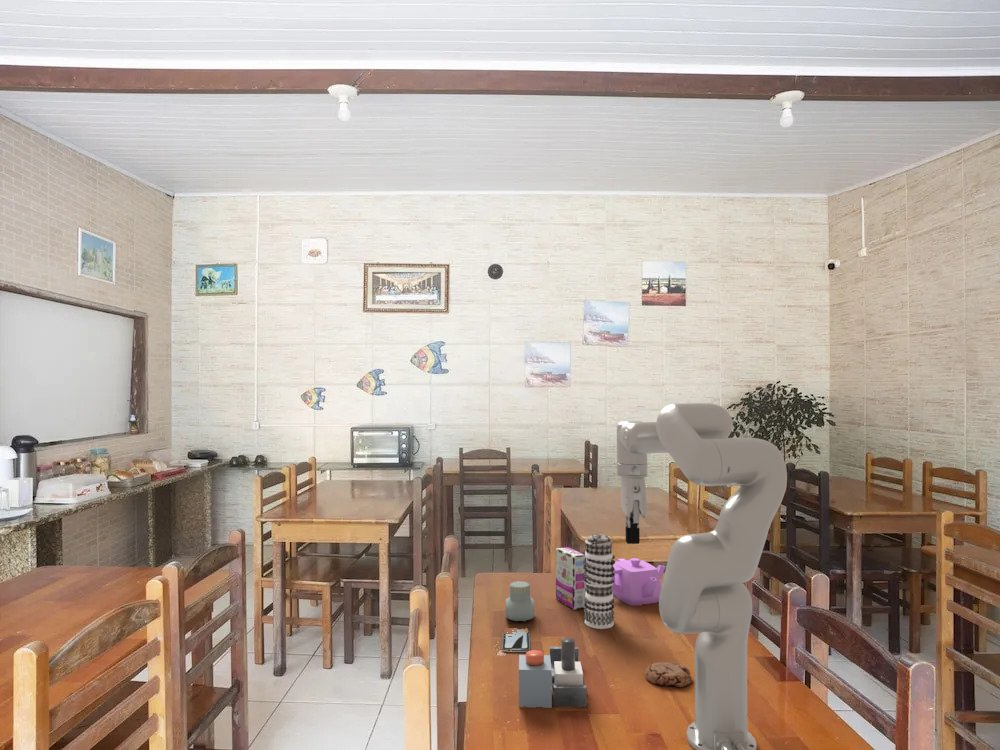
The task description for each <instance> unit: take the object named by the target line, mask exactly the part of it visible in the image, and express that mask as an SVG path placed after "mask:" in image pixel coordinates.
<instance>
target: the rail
mask: <svg viewBox="0 0 1000 750" xmlns="http://www.w3.org/2000/svg"><path fill="white" fill-rule="evenodd" d="M549 655H550V660H551V670H552V675H554V661H562V660H561V646H549ZM575 662H579V646H575ZM587 690H588V689H587V685H586V684H585V685H554V693H553V688H552V699H553V700H552V702H553V707H555V706H557V707H562V708H564V707H565V708H568V707H569V708H570V707H571V708H572V707H573V708H587V706H588V705H587V704H588V701H587V700H588V699H587V696H588V695H587V692H588V691H587Z"/></svg>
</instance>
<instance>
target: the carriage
mask: <svg viewBox="0 0 1000 750" xmlns="http://www.w3.org/2000/svg"><path fill="white" fill-rule="evenodd" d="M560 643H561V646H560V647H561V660H562V661H554V675H552V688H553V691H552V694H553V693H554V685H586V684H585V676H584V672H583V667H582V664H581V663H582V662H581V661H578V662H575V647H576V641H575V639H574V638H571V637H563V638H562V639H561V641H560Z"/></svg>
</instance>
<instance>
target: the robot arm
mask: <svg viewBox="0 0 1000 750" xmlns="http://www.w3.org/2000/svg"><path fill="white" fill-rule="evenodd" d="M733 422H734V421H733V418H732V416H731V414H730V412H728V411H727V409H726V408H724V407H723V406H721V405H718V404H714V403H708V402H702V403H700V402H699V403H698V402H697V403H696V402H695V403H671V404H669V405H666V406H665V407H663V408H662V409H661V411H660V412H659V413H658V415H657V418H656V421H642V420H641V421H640V420H621V421H620V422H618V423H617V425H616V476H617V477H620V507H621V511H622V513H624V515H625V542H626V544H628V545H635V544H636V545H637V544H640V538H641V537H640V516H642V517H643V518H647V517H648V510H647V509H648V507H647V506H648V505H647V489H646V480H645V478H647V477H648V454H669V456H670V457H671V459H672V460H673V461H674V463H675V465H677V467H678V468H679V470H680V471H681V472H682V473H683V475H684V476H685V477H686V479H687V480H688V481H690V482H691V483H692V484H695V485H697V486H700V487H701V486H702V487H716V486H717V487H718V486H719V487H720V486H735V485H736V486H737V485H740V486H739V488H738V489H737V490H736V491H735V492H734V493H733V494H731V496H730V497H729V498H728V499H727V500H726V501H725V503H724V504H723V507H722V508H721V509H720V513H719V515H718V516H719V517H718V520H717V523H716V526H715V528H714V529H713V530H710V531H708V532H702V533H701V532H700V533H690V534H689V533H688V534H685V535H683V536H681V537H679V538H678V539H677V540H675V542H674V543H673V545H672V547H671V548H670V551H669V555H668V558H667V562H666V566H665V570H664V573H663V577H662V578H663V579H662V581H661V582H662V583H661V590H660V596H659V602H658V609H659V615H660V618H661V620H662V623H663V625H664V626H665V627H666V629H668V630H669V631H671V632H673V633H674V634H678V635H688V634H697V637H696V641H695V644H694V721H693V722H691V723H690V724H689V725H688V726H687V729H686V738H687V742H688V743H689V745H690V746H691V747H692V748H693V749H694V750H757V749H758V748H757V745H758V744H757V741H756V738H755V737H754V736H753V734H752V733H751V732H749V731H748V639H749V630H750V626H751V621H752V617H753V616H752V615H753V600H752V599H753V598H752V596H751V593H750V591H749V589H748V588H747V586H746V585H745V584H744V583H746V582H749V581H750V580H751V579H753V577H754V576H755V573H756V571H757V569H758V566H759V563H760V560H761V556H762V554H763V550H764V549H765V544H766V541H767V537H768V535H769V534H768V533H769V530H770V527H771V524H772V522H773V520H774V518H775V515H776V514H777V512H778V511H779V508H780V506H781V504H782V502H783V499H784V496H785V493H786V490H787V487H788V486H787V484H788V472H787V466H786V462H785V459H784V456H783V455H782V452H781V451H780V450H779V448H778V446H776V445H775V444H773V443H772V442H770V441H768V440H766V439H761V438H757V437H744V436H743V437H730V435H731V433H732V431H733V428H734V427H733V426H734V423H733Z"/></svg>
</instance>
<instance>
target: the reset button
mask: <svg viewBox="0 0 1000 750" xmlns="http://www.w3.org/2000/svg"><path fill="white" fill-rule="evenodd" d="M525 655H526V663H528V664H530V665H541V664H543V663H544V655H545V653H544V652H543V651H542V650H537V649H532V650H531V649H530V651H528V652H526V653H525Z"/></svg>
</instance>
